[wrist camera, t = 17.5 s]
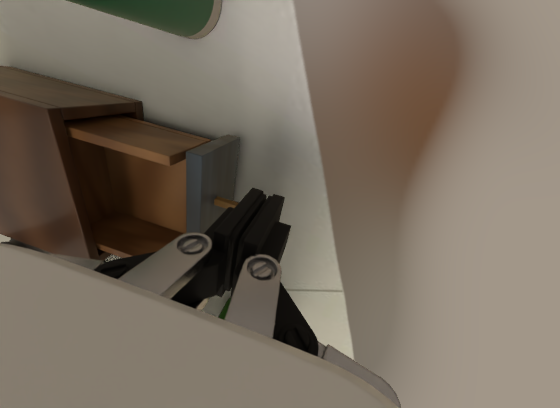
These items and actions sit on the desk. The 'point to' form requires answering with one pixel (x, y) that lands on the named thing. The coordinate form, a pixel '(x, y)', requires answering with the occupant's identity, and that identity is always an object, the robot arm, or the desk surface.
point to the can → (164, 14)
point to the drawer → (149, 181)
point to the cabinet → (47, 160)
